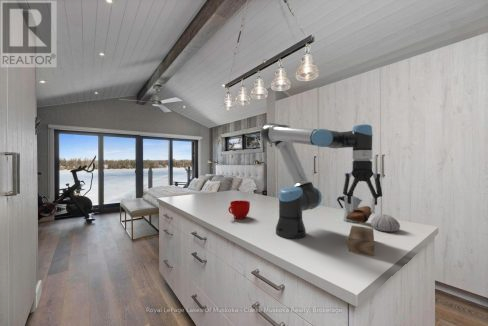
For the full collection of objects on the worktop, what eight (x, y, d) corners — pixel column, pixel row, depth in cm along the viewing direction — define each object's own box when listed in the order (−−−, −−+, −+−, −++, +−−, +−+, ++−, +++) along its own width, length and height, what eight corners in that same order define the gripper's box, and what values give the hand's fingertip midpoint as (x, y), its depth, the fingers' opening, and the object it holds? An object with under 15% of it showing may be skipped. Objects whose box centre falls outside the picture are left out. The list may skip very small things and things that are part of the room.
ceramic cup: (221, 218, 134) (221, 203, 134) (239, 213, 147) (239, 199, 147) (236, 222, 125) (236, 206, 125) (253, 217, 138) (253, 202, 138)
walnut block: (348, 251, 87) (348, 237, 87) (351, 237, 103) (351, 225, 103) (373, 256, 82) (374, 241, 82) (373, 241, 98) (373, 228, 98)
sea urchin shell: (368, 230, 114) (368, 215, 114) (372, 224, 124) (373, 210, 124) (398, 235, 105) (399, 219, 105) (400, 229, 115) (400, 214, 115)
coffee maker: (364, 221, 129) (364, 192, 129) (360, 224, 123) (361, 194, 122) (338, 217, 139) (339, 190, 139) (334, 219, 132) (334, 191, 132)
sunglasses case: (352, 210, 104) (360, 200, 102) (365, 220, 100) (374, 209, 98) (344, 218, 89) (354, 206, 87) (360, 229, 86) (370, 217, 84)
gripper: (338, 160, 91) (338, 212, 91) (392, 160, 86) (392, 215, 86) (335, 160, 98) (335, 208, 98) (385, 160, 93) (384, 211, 93)
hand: (361, 211), depth 92 cm, fingers closed on sunglasses case, 8 cm apart
